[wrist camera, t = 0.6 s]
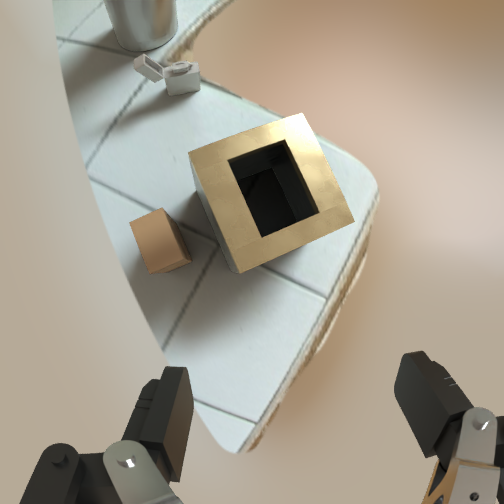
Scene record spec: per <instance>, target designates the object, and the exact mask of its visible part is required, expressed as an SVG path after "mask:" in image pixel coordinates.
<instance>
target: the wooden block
mask: <svg viewBox="0 0 504 504" xmlns="http://www.w3.org/2000/svg"><path fill="white" fill-rule="evenodd" d="M130 226H131V229H132V231H133V234H134V237H135V239H136V242H137V244H138V247H139V249H140V252H141V254H142V257H143V259H144V262H145V264H146V267H147V269H148V271H149V274H155V273H165V272H170V271H172V270H174V269H176V268H179V267H181V266H183V265H185V264H188V263H190V262H192V259H191V257H190V255H189V252H188V250H187V248H186V245H185V243H184V240H183V238H182V236H181V233H180V231H179V228H178V226H177V224H176V223H175V222H174V221H173V219H172V218H171V217H170V216H169V215H168V214H167V213H166V211H165V210H164V209H163V208H160V209H158V210H156V211H153V212H151V213H149V214H147V215H145V216H142V217H140V218H138V219H136V220H134V221H132V222H130Z"/></svg>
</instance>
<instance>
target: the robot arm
mask: <svg viewBox="0 0 504 504" xmlns="http://www.w3.org/2000/svg"><path fill="white" fill-rule="evenodd" d="M104 3H105V6H106V9H107V12H108V15H109V17H110V20H111V23H112V26H113V29H114V31H115V34H116V37H117V40H118V42H119V44H120V45H121V47H123V48H124V49H127V50H129V51H147V50H151V49H155V48H157V47H159V46H161V45H163V44H165V43H166V42H168V41H169V40H170V39H171V38H172V37H173V36H174V35H175V33H176V31H177V28H178V21H177V10H176V0H104ZM394 393H395V397H396V400H397V401H398V403H399V406H400V407H401V409H402V411H403V413H404V415H405V417H406V419H407V421H408V423H409V425H410V427H411V429H412V431H413V433H414V435H415V437H416V439H417V441H418V443H419V445H420V447H421V449H422V452H423V454H424V456H425V458H428V457H431V456H434V455H437V457H438V458H439V459H438V461H437V462H436V464H435V467H434V471H433V474H432V477H431V480H430V483H429V485H428V488H427V491H426V494H425V496H424V499H423V501H422V503H421V504H495V501H496V497H497V499H498V502H499V504H504V416H499V417H495V415H494V414H493V413H492V412H491V411H489V410H487V409H485V408H480V407H475V408H474V406H473V405H472V404H471V402H470V401H469V399H468V398H467V397H466V395H465V394H464V393H463V391H462V390H461V389H460V387H459V386H458V385H457V384H456V382H455V381H454V380H453V378H451V376H450V374H449V373H448V372H447V370H446V369H445V368H444V367H443V366H441V365H440V364H438V363H437V362H435V361H431V360H430V359H429V357H428V356H427V355H426V353H425V352H424V351H417V352H411V353H406V354H404V355H403V357H402V359H401V363H400V367H399V371H398V374H397V377H396V381H395V385H394ZM193 409H194V401H193V394H192V389H191V384H190V379H189V374H188V370H187V368H186V367H170V366H167V367H165V369H164V371H163V374H162V376H161V379H160V380H158V379H152V380H151V381H149V382H148V383H147V384H146V385H145V386H144V387H143V388H142V391H141V393H140V396H139V400H138V401H137V403H136V405H135V409H134V410H133V413H132V415H131V418H130V420H129V423H128V425H127V427H126V430H125V432H124V435H123V437H122V439H121V441H118V442H116V443H113V444H112V445H110V446H109V447H108V448H107V449H106V451H105V452H103V453H91V454H78V452H77V451H76V450H75V448H73V447H72V446H70V445H68V444H63V443H58V444H53V445H51V446H49V447H47V448H46V449H45V450H44V451H43V453H42V455H41V457H40V459H39V461H38V463H37V465H36V467H35V470H34V472H33V474H32V476H31V478H30V480H29V483H28V485H27V487H26V490H25V492H24V494H23V497H22V499H21V501H20V504H183V503H182V501H181V500H180V499H179V498H178V497H177V496H176V495H175V494H174V492H173V491H172V489H171V488H170V487H169V483H170V481H172V482H180V477H181V471H182V466H183V461H184V456H185V451H186V446H187V441H188V435H189V431H190V426H191V420H192V416H193Z"/></svg>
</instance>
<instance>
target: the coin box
mask: <svg viewBox="0 0 504 504" xmlns="http://www.w3.org/2000/svg"><path fill="white" fill-rule="evenodd" d="M188 155H189V160H190V164H191V169H192V174H193V178H194V183H195V187H196V191H197V193H198V196H199V198H200V200H201V203H202V205H203V207H204V210H205V212H206V215H207V217H208V219H209V222H210V224H211V226H212V229H213V231H214V233H215V235H216V238H217V240H218V242H219V245H220V247H221V249H222V252H223V254H224V256H225V258H226V261H227V263H228V265H229V268H230V270H231V272H235V273H239V274H241V273H243V272H245V271H247V270H250V269H252V268H254V267H256V266H259V265H261V264H263V263H265V262H267V261H270V260H272V259H274V258H276V257H279V256H281V255H283V254H285V253H287V252H290V251H292V250H294V249H296V248H299V247H301V246H303V245H305V244H307V243H310V242H312V241H314V240H316V239H318V238H320V237H323V236H325V235H327V234H329V233H331V232H334V231H336V230H338V229H340V228H342V227H344V226H347V225H349V224H351V223H353V222H355V221H354V219H353V216H352V214H351V212H350V209H349V207H348V205H347V203H346V200H345V198H344V196H343V194H342V192H341V189H340V187H339V185H338V183H337V181H336V179H335V176H334V174H333V172H332V170H331V168H330V166H329V164H328V162H327V160H326V158H325V156H324V154H323V152H322V150H321V148H320V146H319V144H318V142H317V140H316V138H315V136H314V134H313V132H312V130H311V128H310V127H309V125H308V123H307V121H306V119H305V117H304V115H303V114H302V113H301V114H298V115H295V116H291V117H288V118H284V119H281V120H278V121H275V122H271V123H268V124H265V125H262V126H259V127H256V128H253V129H250V130H247V131H244V132H241V133H238V134H236V135H233V136H230V137H227V138H224V139H222V140H219V141H216V142H214V143H211V144H208V145H206V146H203V147H201V148H198V149H196V150H193V151H191V152H188ZM269 168H273V171H274V173H275V175H276V177H277V179H278V181H279V183H280V186H281V188H282V190H283V192H284V194H285V196H286V199H287V201H288V203H289V205H290V207H291V210H292V212H293V214H294V216H295V219H296V221H297V223H295V224H293V225H290V226H288V227H286V228H283V229H281V230H279V231H277V232H274V233H272V234H270V235H267V236H265V237H263V238H261V235H260V233H259V231H258V229H257V226H256V224H255V222H254V220H253V217H252V215H251V213H250V211H249V208H248V206H247V204H246V202H245V199H244V197H243V195H242V193H241V190H240V188H239V186H238V184H237V181H238V180H240V179H243V178H246V177H248V176H251V175H253V174H256V173H259V172H261V171H264V170H266V169H269Z"/></svg>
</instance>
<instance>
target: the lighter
mask: <svg viewBox="0 0 504 504" xmlns="http://www.w3.org/2000/svg"><path fill="white" fill-rule="evenodd" d="M134 69H135V70H136V71H137V72H139V73H140V74H142V75H143V76H145V77H147V78H148V79H150V80H151V81H153V82H154V83H155V82H157V81H159V80H161V79H163V78H165V82H166V87H167V91H168V95H169V96H174V95H179V94H184V93H189V92H195V91H199V90H200V71H199V65H198V62H191V63H189V62H187V61H181V62H176V63H172V66H170V67H165V68H164V69H163V67H162V66H160V65H159V64H158V63H156V62H155V61H154V60H152V59H151V58H150V57H148V56H147V55H145V54H142V55H141V56H139V57H137V58H135V59H134Z"/></svg>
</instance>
